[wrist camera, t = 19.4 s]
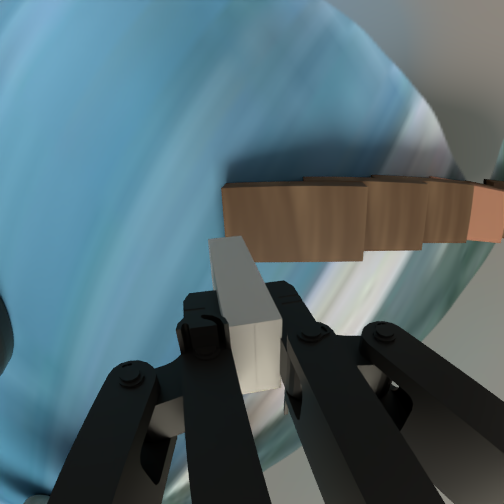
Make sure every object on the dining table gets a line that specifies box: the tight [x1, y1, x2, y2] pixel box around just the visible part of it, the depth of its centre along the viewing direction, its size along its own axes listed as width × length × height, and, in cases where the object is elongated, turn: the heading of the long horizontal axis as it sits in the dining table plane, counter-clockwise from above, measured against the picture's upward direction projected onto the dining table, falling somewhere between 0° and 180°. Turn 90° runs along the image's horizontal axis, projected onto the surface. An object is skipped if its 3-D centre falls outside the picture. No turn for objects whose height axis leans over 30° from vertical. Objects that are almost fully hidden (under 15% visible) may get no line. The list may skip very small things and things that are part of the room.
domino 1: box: [221, 181, 368, 262], centre depth 20 cm, size 2×5×9 cm
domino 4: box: [429, 176, 504, 243], centre depth 23 cm, size 2×5×9 cm
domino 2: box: [303, 177, 429, 251], centre depth 21 cm, size 2×5×9 cm
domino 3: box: [371, 175, 474, 243], centre depth 22 cm, size 2×5×9 cm
